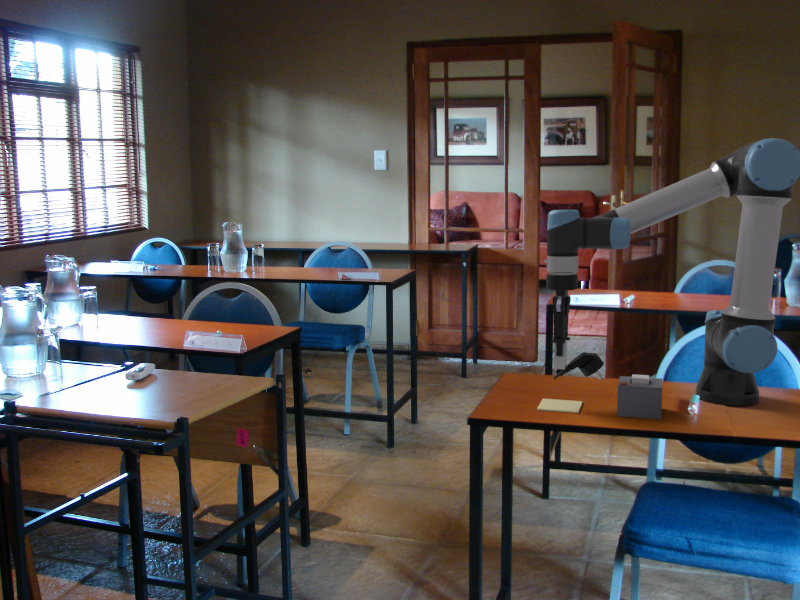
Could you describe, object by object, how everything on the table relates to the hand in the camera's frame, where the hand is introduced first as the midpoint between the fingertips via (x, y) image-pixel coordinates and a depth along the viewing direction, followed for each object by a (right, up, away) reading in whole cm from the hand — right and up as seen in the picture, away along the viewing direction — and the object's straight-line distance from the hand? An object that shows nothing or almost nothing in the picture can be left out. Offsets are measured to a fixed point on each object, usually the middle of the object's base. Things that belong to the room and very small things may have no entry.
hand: (560, 367), depth 193 cm
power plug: (0, -5, +1) cm, 5 cm away
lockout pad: (0, -10, +1) cm, 10 cm away
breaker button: (+18, -6, -5) cm, 20 cm away
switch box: (+18, -10, -5) cm, 22 cm away
